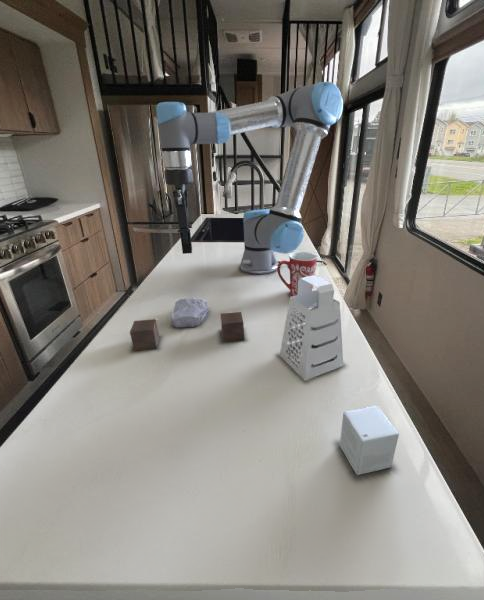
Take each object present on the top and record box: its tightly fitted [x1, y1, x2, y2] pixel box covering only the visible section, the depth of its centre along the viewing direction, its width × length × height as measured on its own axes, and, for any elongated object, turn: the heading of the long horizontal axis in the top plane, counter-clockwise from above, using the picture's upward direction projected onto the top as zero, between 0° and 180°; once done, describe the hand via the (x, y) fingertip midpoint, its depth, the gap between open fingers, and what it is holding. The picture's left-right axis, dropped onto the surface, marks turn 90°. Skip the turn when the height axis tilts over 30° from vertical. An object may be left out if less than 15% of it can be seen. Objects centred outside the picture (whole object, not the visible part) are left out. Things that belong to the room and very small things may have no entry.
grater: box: [279, 274, 344, 381], centre depth 71 cm, size 10×10×20 cm
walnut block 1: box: [129, 318, 160, 352], centre depth 82 cm, size 6×6×6 cm
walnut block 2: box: [220, 311, 245, 343], centre depth 84 cm, size 6×6×6 cm
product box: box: [339, 405, 400, 476], centre depth 50 cm, size 6×6×7 cm
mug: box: [276, 251, 319, 297], centre depth 105 cm, size 13×9×14 cm
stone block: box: [170, 297, 210, 329], centre depth 94 cm, size 12×5×10 cm
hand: (187, 251), depth 98 cm, fingers open, 2 cm apart
